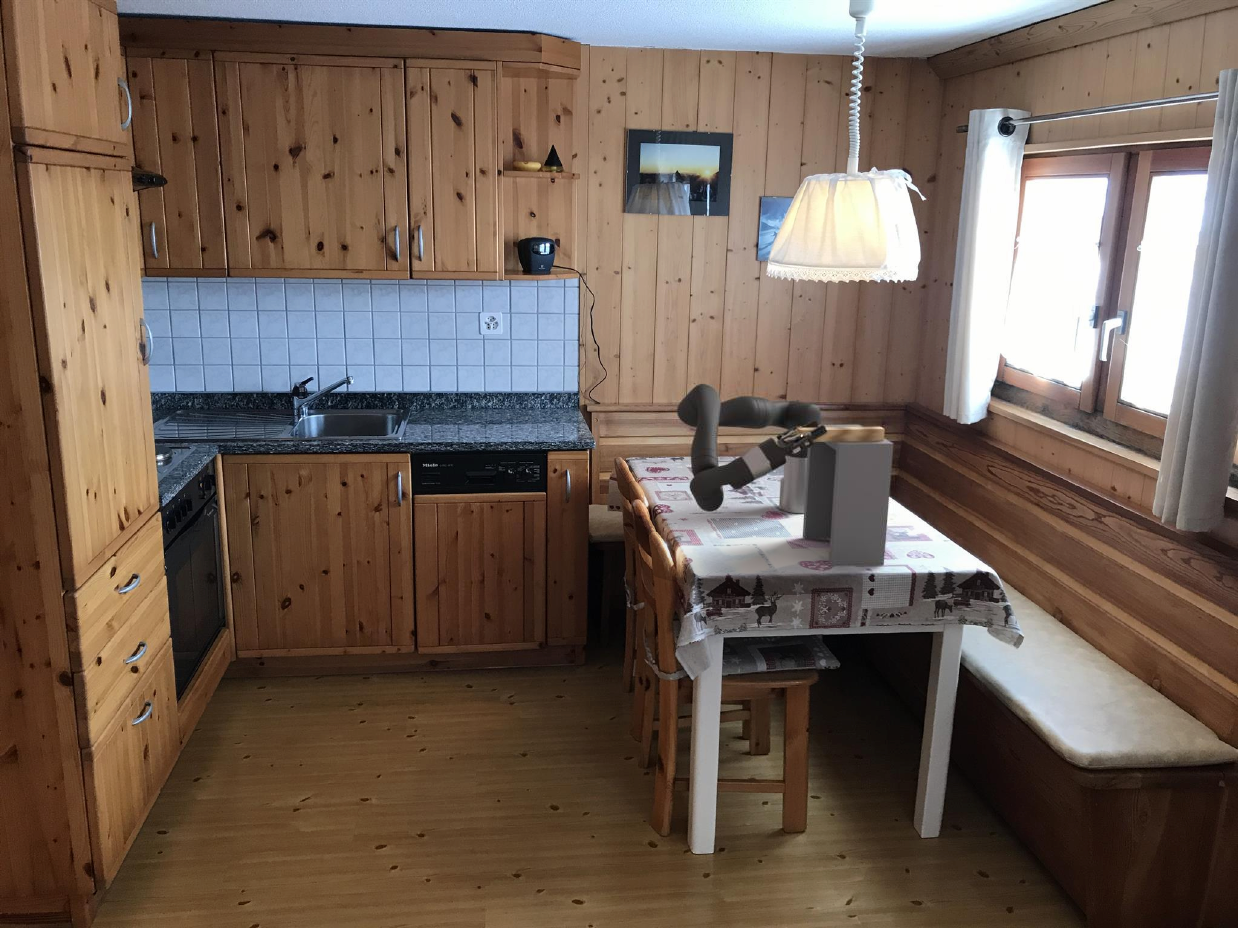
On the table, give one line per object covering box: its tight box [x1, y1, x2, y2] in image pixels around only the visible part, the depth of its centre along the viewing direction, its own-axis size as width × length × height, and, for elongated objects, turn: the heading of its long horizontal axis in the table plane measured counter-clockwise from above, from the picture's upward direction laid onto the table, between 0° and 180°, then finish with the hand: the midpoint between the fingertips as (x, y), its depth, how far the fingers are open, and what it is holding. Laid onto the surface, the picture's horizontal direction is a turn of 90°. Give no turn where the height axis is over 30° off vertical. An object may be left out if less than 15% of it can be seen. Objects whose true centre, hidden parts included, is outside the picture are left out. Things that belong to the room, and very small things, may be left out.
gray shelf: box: [802, 424, 894, 567], centre depth 267 cm, size 14×24×32 cm, turn 8°
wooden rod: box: [797, 426, 885, 442], centre depth 255 cm, size 22×3×3 cm, turn 98°
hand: (820, 425), depth 254 cm, fingers open, 6 cm apart
